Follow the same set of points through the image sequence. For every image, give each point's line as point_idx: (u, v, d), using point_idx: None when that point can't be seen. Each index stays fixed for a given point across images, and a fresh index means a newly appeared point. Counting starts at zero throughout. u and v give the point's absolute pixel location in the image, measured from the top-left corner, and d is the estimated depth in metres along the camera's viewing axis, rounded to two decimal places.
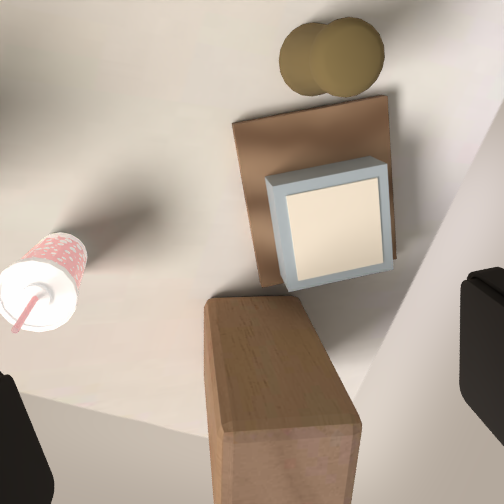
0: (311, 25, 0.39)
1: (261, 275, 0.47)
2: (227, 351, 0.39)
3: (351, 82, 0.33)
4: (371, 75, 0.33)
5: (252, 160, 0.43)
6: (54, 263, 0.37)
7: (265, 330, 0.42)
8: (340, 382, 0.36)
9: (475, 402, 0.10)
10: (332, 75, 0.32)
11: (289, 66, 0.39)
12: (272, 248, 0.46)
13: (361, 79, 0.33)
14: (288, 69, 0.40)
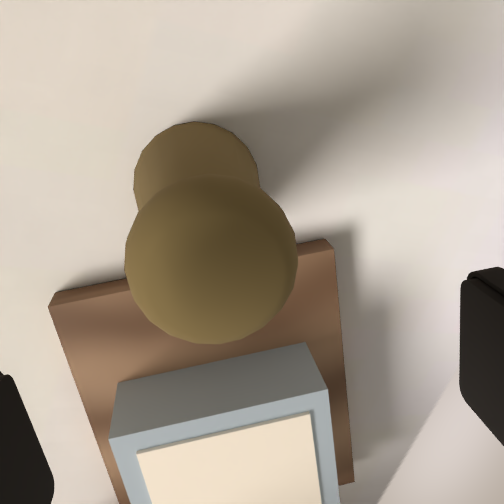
0: (180, 137, 0.20)
1: None
2: None
3: (215, 331, 0.14)
4: (264, 314, 0.14)
5: (91, 360, 0.24)
6: None
7: None
8: None
9: (475, 402, 0.10)
10: (168, 318, 0.13)
11: None
12: None
13: (239, 323, 0.14)
14: None
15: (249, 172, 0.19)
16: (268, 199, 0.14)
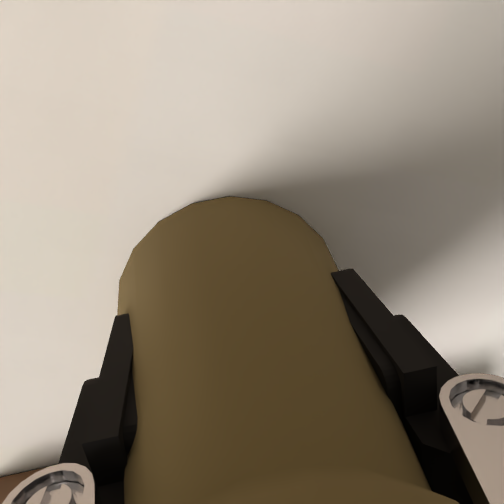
0: (206, 240, 0.10)
1: None
2: None
3: None
4: None
5: None
6: None
7: None
8: None
9: None
10: None
11: None
12: None
13: None
14: None
15: None
16: None
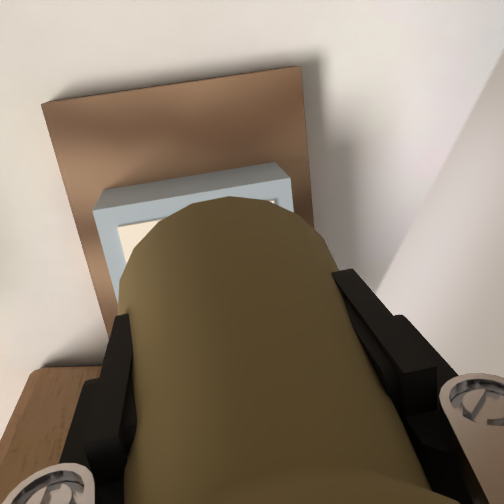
0: (206, 240, 0.10)
1: None
2: None
3: None
4: None
5: (79, 163, 0.26)
6: None
7: None
8: None
9: None
10: None
11: None
12: None
13: None
14: None
15: None
16: None
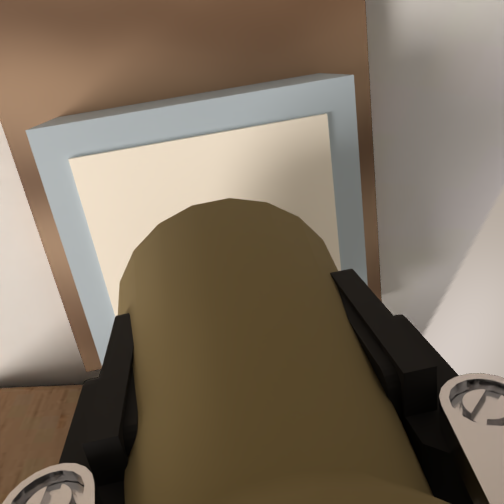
0: (206, 242, 0.10)
1: (81, 346, 0.21)
2: None
3: None
4: None
5: (18, 74, 0.17)
6: None
7: None
8: None
9: None
10: None
11: None
12: None
13: None
14: None
15: None
16: None
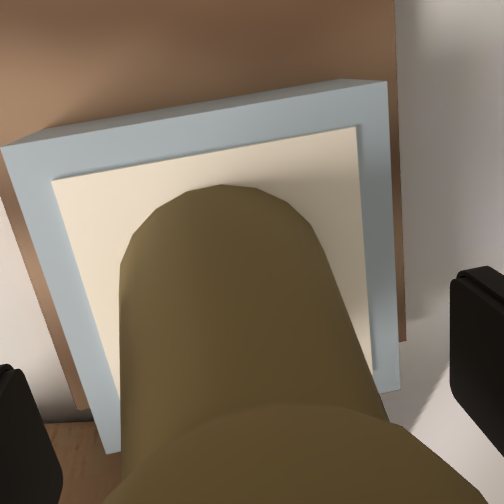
0: (198, 223, 0.11)
1: (71, 383, 0.19)
2: None
3: None
4: None
5: None
6: None
7: None
8: None
9: (464, 400, 0.10)
10: None
11: None
12: None
13: None
14: None
15: (337, 303, 0.09)
16: None
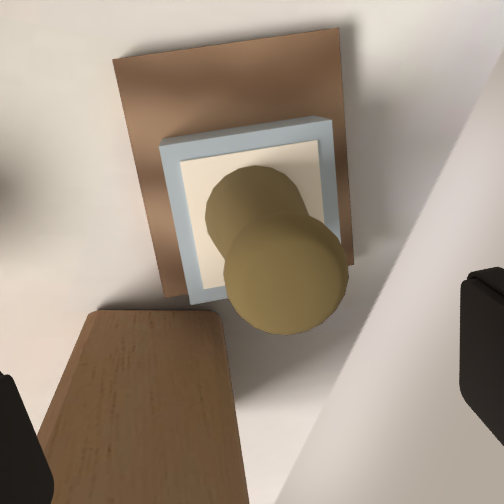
0: (247, 179, 0.26)
1: (163, 280, 0.34)
2: (75, 392, 0.25)
3: (290, 324, 0.19)
4: (324, 312, 0.19)
5: (142, 114, 0.30)
6: None
7: (150, 360, 0.29)
8: (235, 452, 0.22)
9: (475, 402, 0.10)
10: (257, 314, 0.19)
11: (214, 238, 0.26)
12: (177, 243, 0.33)
13: (307, 319, 0.19)
14: (213, 239, 0.27)
15: (303, 207, 0.24)
16: (328, 230, 0.19)
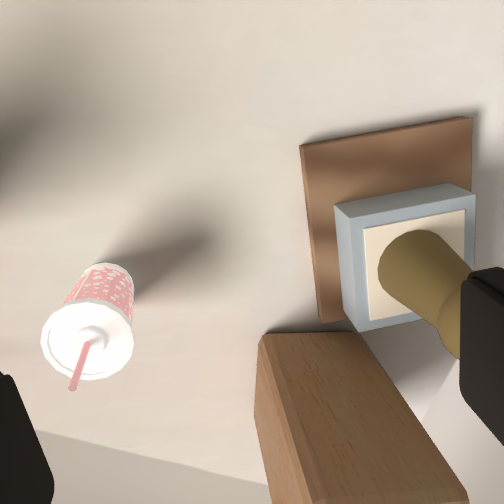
0: (421, 244, 0.35)
1: (323, 311, 0.43)
2: (299, 403, 0.35)
3: None
4: None
5: (321, 187, 0.39)
6: (109, 304, 0.33)
7: (335, 376, 0.38)
8: (433, 444, 0.32)
9: (475, 402, 0.10)
10: None
11: (396, 288, 0.35)
12: (336, 282, 0.42)
13: None
14: (392, 287, 0.36)
15: None
16: None
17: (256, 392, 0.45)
